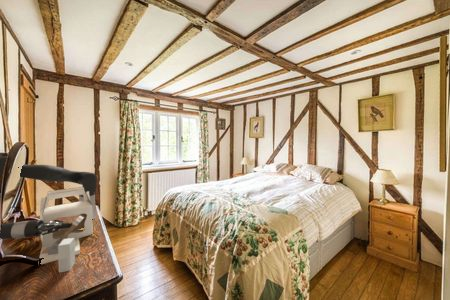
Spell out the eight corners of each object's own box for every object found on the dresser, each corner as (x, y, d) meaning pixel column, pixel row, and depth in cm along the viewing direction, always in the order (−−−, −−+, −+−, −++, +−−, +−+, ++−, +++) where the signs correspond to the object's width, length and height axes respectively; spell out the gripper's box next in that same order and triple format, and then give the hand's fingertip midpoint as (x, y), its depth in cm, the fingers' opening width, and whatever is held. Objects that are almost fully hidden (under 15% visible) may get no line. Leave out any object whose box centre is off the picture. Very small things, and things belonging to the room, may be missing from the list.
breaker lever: (60, 238, 101) (80, 215, 103) (64, 240, 101) (84, 217, 103) (54, 244, 95) (75, 219, 98) (59, 246, 96) (79, 222, 98)
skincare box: (63, 264, 89) (63, 238, 89) (75, 262, 91) (74, 237, 90) (58, 273, 84) (57, 245, 83) (70, 270, 85) (69, 243, 85)
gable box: (42, 248, 102) (41, 195, 100) (40, 239, 110) (38, 190, 109) (93, 234, 118) (92, 187, 116) (87, 227, 127) (86, 184, 125)
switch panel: (41, 250, 100) (41, 239, 99) (78, 241, 109) (78, 231, 109) (38, 265, 89) (38, 252, 88) (80, 253, 98) (79, 241, 98)
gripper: (18, 227, 88) (65, 223, 93) (36, 216, 100) (76, 212, 106) (18, 243, 88) (65, 238, 93) (36, 230, 101) (76, 226, 106)
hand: (71, 225), depth 100 cm, fingers closed
